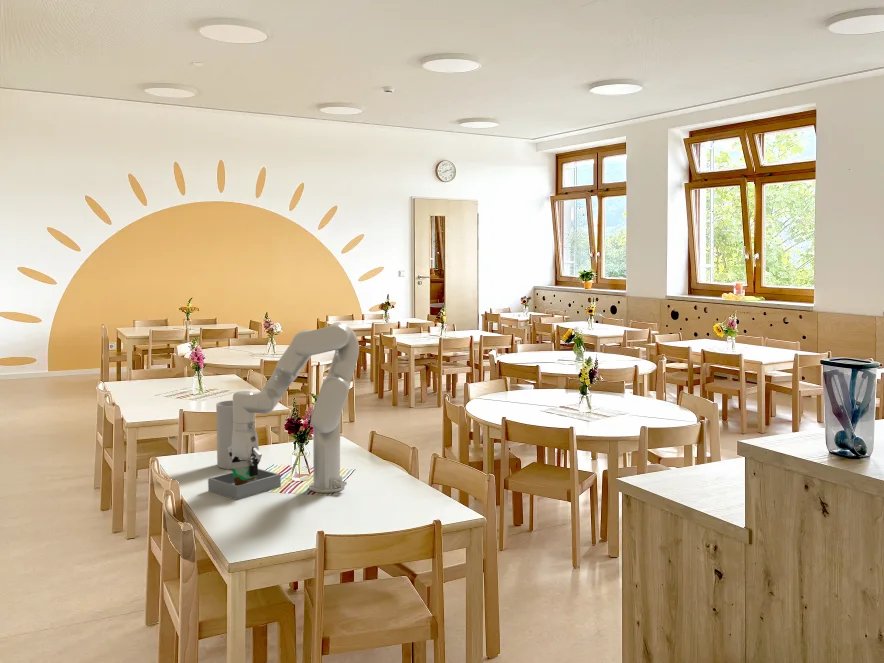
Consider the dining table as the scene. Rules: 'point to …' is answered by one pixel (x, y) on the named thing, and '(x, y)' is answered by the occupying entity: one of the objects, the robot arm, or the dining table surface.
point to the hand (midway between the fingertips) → (244, 473)
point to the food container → (242, 472)
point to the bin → (229, 489)
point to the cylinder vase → (224, 433)
